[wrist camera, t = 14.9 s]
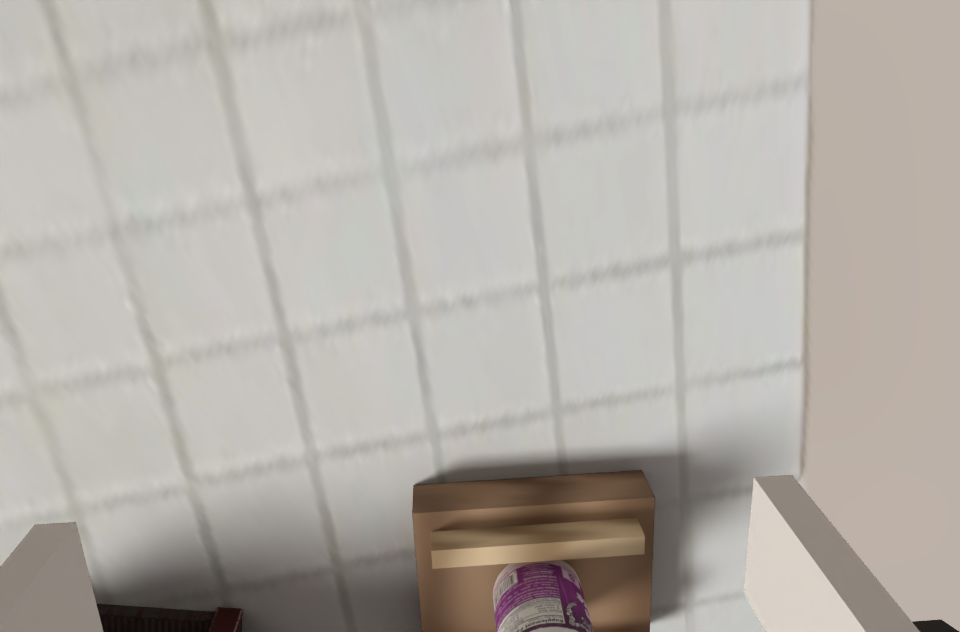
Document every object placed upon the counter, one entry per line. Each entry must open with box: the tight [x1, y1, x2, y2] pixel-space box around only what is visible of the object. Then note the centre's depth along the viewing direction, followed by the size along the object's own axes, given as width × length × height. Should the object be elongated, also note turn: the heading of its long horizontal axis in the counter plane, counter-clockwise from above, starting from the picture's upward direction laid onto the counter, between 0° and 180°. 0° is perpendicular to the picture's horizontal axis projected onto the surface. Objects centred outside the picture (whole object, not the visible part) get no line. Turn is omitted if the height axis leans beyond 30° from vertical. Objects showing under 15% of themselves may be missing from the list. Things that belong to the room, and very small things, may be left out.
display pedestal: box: [412, 470, 655, 632], centre depth 48 cm, size 14×12×5 cm
